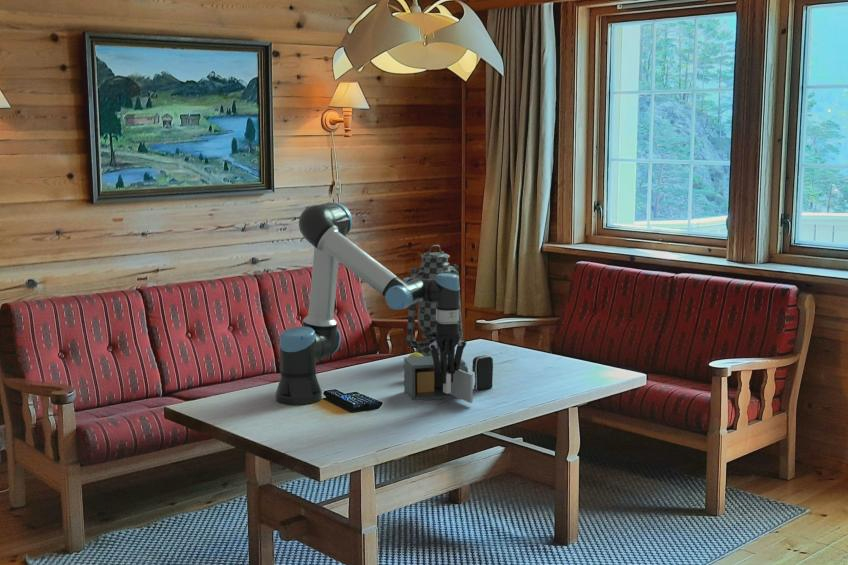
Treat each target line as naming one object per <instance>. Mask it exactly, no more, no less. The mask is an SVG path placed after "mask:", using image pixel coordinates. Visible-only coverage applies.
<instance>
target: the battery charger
mask: <svg viewBox="0 0 848 565" xmlns="http://www.w3.org/2000/svg"><path fill="white" fill-rule="evenodd" d="M471 371H472V372H473V373H474V384H473V390H476V391H481V390H487V389H491V388H493V387H494V386H493V376H494V375H493V374H494V360H493V357H492V356H490V355H484V354H483V355H479V356H475V357H474V358H473V360H472V370H471Z"/></svg>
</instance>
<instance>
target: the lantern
mask: <svg viewBox="0 0 848 565" xmlns="http://www.w3.org/2000/svg"><path fill="white" fill-rule="evenodd" d="M433 247H434V248H435V247H437V248H438V250H439V252H438V251H436V252H434V251H433V252H431V250H432V248H433ZM441 247H442V246H440V244H433V245H430V246H429V250H428V251H427V252H424V253H423V254H420V258H421V260H422V261H421V262H420V265H419V266H420V267H418V268H416V267H412V268H410V269H409V270H410V274H411V275H410V278H412V277H415V278H422V279H436V276H437V275H438V274H442V273H451V274H456V275H457V276H458V277H459V278H460V275H459V274H460V273H459V270H460V266H458V264H456V263H454V264H453V265H451V263H450V262H448V261H449V258H450V254H448V253H445V252H444V251H443V250H442V249H441ZM416 304H417V303H416ZM416 304H414V305H411V306H409V307H408V312H407V313H408V317H407V330H406V331H407V333H406V344H407V345H408V346H409V347H410V348H411V349H415V353H421V354H422V355H423V356H432V353H431V350H430V348H429V347H428V344H432V343H433V342H434V341H435V337H436V322H438V321H436V303H432V302H419V303H418V306H417V305H416ZM461 304H462V303H461V290H460V291H459V321H457V322H458V323H459V337H460V340H462V338H463V337H464V336H463V335H464V334H463V333H464V331H463V323H462V322H463V319H462V305H461ZM416 312H417V323H418V328H419V329H420V330H421V331H422V332H423V333H422V334H421V337H422V338H424V339H425V340H424V341H419V340H418V341H417V340H414V337H415V336H414V335H415V322H416V321H415V320H416ZM437 351H438V355H440V348H439V347H438V345H437ZM455 353H456V352H455ZM455 353H454V354H455Z"/></svg>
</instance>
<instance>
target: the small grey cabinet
mask: <svg viewBox="0 0 848 565" xmlns="http://www.w3.org/2000/svg"><path fill="white" fill-rule="evenodd" d="M438 356H439V360H440V355H438ZM454 357H455V354H454ZM403 360H404V361H403V380H404V381H403V385H404V386H403V388H404V389H403V390H404V391H403V392H404V393H405V394H406V395H407V396H408V397H409V399H410V400H411V401H413V402H417V401H418V402H419V401H420V402H421V401H431V400H432V401H433V400H434V401H435V400H443V399H444V400H445V399H447V400H448V399H458V398H457V397H455V396H452V395H450V394H446V393H444V392H443V383H441V373H439V372H437V371H436V370H435V366H434V362H433V357H432V356H420V357H409V356H406V357H403ZM459 370H462V371H465V372H467V373H469V369H468V364H466V362H465V360H463V359H462V358H461V362H460V366H459ZM447 372H448V371H447Z"/></svg>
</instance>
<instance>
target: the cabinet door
mask: <svg viewBox="0 0 848 565" xmlns="http://www.w3.org/2000/svg"><path fill="white" fill-rule="evenodd" d="M473 375H474V374H472V373H469V372H468V373H467V372H465V371H462V370H458V371H455V373H454V374H453V383H451V393H450V395H452V396H455V397H457V398H456V399H460V400H462V401H465V402H467V403H470V404H472V403H473V398H474V397H473V394H474V392H473V390H474V382H473V381H474V380H473V379H474V378H473Z"/></svg>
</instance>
